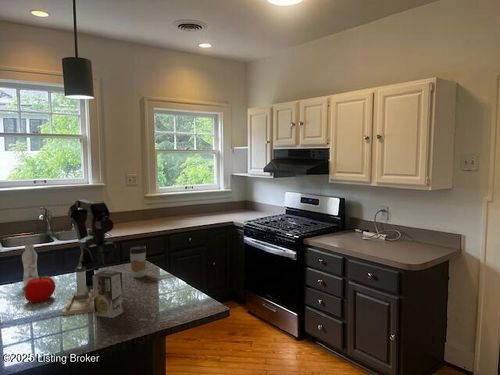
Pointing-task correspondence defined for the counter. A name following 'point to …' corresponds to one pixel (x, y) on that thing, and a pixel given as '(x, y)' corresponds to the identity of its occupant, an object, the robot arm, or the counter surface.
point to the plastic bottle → (29, 263)
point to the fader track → (79, 304)
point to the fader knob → (81, 283)
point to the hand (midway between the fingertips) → (99, 262)
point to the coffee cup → (138, 261)
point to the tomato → (39, 289)
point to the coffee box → (108, 294)
